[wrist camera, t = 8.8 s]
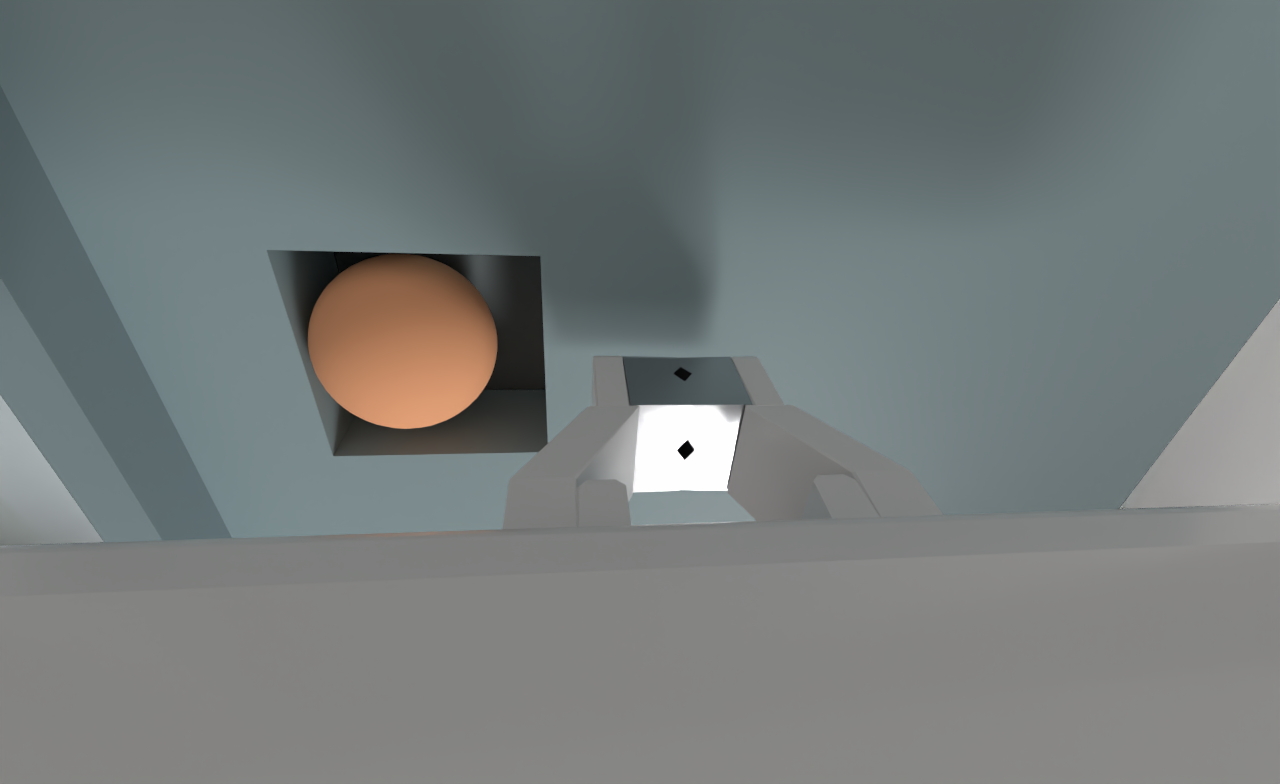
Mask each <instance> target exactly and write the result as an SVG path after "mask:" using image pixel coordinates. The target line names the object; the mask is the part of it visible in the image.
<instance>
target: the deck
mask: <svg viewBox="0 0 1280 784" xmlns="http://www.w3.org/2000/svg"><path fill="white" fill-rule="evenodd" d="M333 251H336V252H379V253H423V254H467V255H511V256H540V260H541V285H542V310H543V335H544V360H545V385H546V390H483V391H482V392H481V393H480V395H479V396H478V397H477V399H475V400H474V401H473V402H472V403H471V404H470V405H469V406H468V407H467V408H466V409H464V410H463V411H462V412H460V413H459V414H457V415H456V416H454V417H452V418H450V419H448V420H446V421H443V422H440V423H438V424H435V425H432V426H427V427H422V428H411V429H399V428H391V427H386V426H381V425H376V424H374V423H371V422H368V421H365V420H363V419H361V418H359V417H357V416H356V415H354V414H352V413H350V412H349V411H348V410H346V409H345V408H343V407H342V406H341V405H340V404H338V403H337V402H336V401H335V400H334V399H333V398H332V397H331V396H330V394H329V393H328V392H327V391H326V390H325V388H324V387H323V385H322V384H321V382H320V380H319V379H318V377H317V375H316V373H315V371H314V368H313V365H312V362H311V359H310V355H309V349H308V328H309V322H310V317H311V314H312V311H313V308H314V306H315V304H316V302H317V300H318V298H319V297H320V295H321V293H322V292H323V290H324V289H325V288H326V286H327V285H328V284H329V283H330V282H331V281H332V280H333V279H334V278H335V277H336V276H337V275H339V272H338V268H337V264H336V260H335V256H334V252H333ZM1279 299H1280V0H0V395H1V396H2V398H3V399H4V401H5V402H6V403H7V405H8V406H9V408H10V409H11V411H12V412H13V413H14V415H15V416H16V418H17V419H18V420H19V422H20V423H21V425H22V426H23V428H24V429H25V430H26V432H27V433H28V435H29V436H30V438H31V439H32V440H33V442H34V443H35V445H36V446H37V447H38V449H39V450H40V452H41V453H42V455H43V456H44V457H45V459H46V460H47V462H48V463H49V464H50V466H51V467H52V469H53V470H54V472H55V473H56V474H57V476H58V477H59V479H60V480H61V481H62V483H63V484H64V486H65V487H66V489H67V490H68V491H69V493H70V494H71V496H72V497H73V498H74V500H75V501H76V503H77V504H78V506H79V507H80V508H81V510H82V511H83V513H84V514H85V516H86V517H87V518H88V520H89V521H90V523H91V524H92V525H93V527H94V528H95V530H96V531H97V533H98V534H99V535H100V537H101V538H102V540H103V541H104V542H131V541H161V540H191V539H221V538H252V537H282V536H313V535H343V534H374V533H404V532H435V531H466V530H496V529H502V528H503V521H504V514H505V507H506V500H507V492H508V485H509V479H510V478H512V477H513V476H514V475H515V474H516V473H517V472H518V471H519V470H520V469H521V468H522V467H523V466H524V465H526V464H527V463H528V462H529V461H530V460H531V459H532V458H533V457H534V456H535V455H536V454H537V453H538V452H539V451H541V450H542V449H543V448H544V447H545V446H546V445H547V444H548V443H549V442H550V441H551V440H552V439H553V438H555V437H556V436H557V435H558V434H559V433H560V432H561V431H562V430H563V429H564V428H565V427H566V426H567V425H568V424H570V423H571V422H572V421H573V420H574V419H575V418H576V417H577V416H578V415H579V414H580V413H581V412H582V411H584V410H585V409H586V408H587V407H588V406H591V399H592V362H593V356H618V355H620V356H621V357H622V356H643V357H676V358H688V357H741V356H755V357H757V358H758V359H759V360H760V362H761V364H762V366H763V367H764V369H765V371H766V373H767V374H768V376H769V378H770V380H771V382H772V383H773V385H774V387H775V389H776V390H777V392H778V394H779V396H780V398H781V399H782V401H783V403H784V405H794V406H795V407H797V408H799V409H801V410H803V411H804V412H806V413H808V414H810V415H811V416H813V417H815V418H817V419H819V420H820V421H822V422H824V423H826V424H828V425H829V426H831V427H833V428H835V429H836V430H838V431H840V432H842V433H844V434H845V435H847V436H849V437H851V438H852V439H854V440H856V441H858V442H860V443H861V444H863V445H865V446H867V447H868V448H870V449H872V450H874V451H876V452H877V453H879V454H881V455H883V456H884V457H886V458H888V459H890V460H892V461H893V462H895V463H897V464H899V465H901V466H902V467H904V468H906V469H908V470H909V471H911V472H912V473H913V475H914V476H915V477H916V479H917V480H918V481H919V483H920V484H921V485H922V487H923V488H924V489H925V491H926V492H927V493H928V495H929V496H930V497H931V499H932V500H933V502H934V503H935V504H936V506H937V507H938V508H939V510H940V511H941V512H942V514H943V515H953V514H984V513H1014V512H1044V511H1075V510H1106V509H1119V508H1120V506H1121V505H1122V504H1123V503H1124V501H1125V500H1126V499H1127V497H1128V496H1129V495H1130V493H1131V492H1132V491H1133V489H1134V488H1135V487H1136V486H1137V484H1138V483H1139V482H1140V480H1141V479H1142V478H1143V476H1144V475H1145V474H1146V472H1147V471H1148V470H1149V469H1150V467H1151V466H1152V465H1153V463H1154V462H1155V461H1156V459H1157V458H1158V457H1159V455H1160V454H1161V453H1162V452H1163V450H1164V449H1165V448H1166V446H1167V445H1168V444H1169V442H1170V441H1171V440H1172V438H1173V437H1174V436H1175V435H1176V433H1177V432H1178V431H1179V429H1180V428H1181V427H1182V425H1183V424H1184V423H1185V421H1186V420H1187V419H1188V418H1189V416H1190V415H1191V414H1192V412H1193V411H1194V410H1195V408H1196V407H1197V406H1198V404H1199V403H1200V402H1201V401H1202V399H1203V398H1204V397H1205V395H1206V394H1207V393H1208V391H1209V390H1210V389H1211V387H1212V386H1213V385H1214V384H1215V382H1216V381H1217V380H1218V378H1219V377H1220V376H1221V374H1222V373H1223V372H1224V370H1225V369H1226V368H1227V367H1228V365H1229V364H1230V363H1231V361H1232V360H1233V359H1234V357H1235V356H1236V355H1237V353H1238V352H1239V351H1240V350H1241V348H1242V347H1243V346H1244V344H1245V343H1246V342H1247V340H1248V339H1249V338H1250V336H1251V335H1252V334H1253V333H1254V331H1255V330H1256V329H1257V327H1258V326H1259V325H1260V323H1261V322H1262V321H1263V319H1264V318H1265V317H1266V316H1267V314H1268V313H1269V312H1270V310H1271V309H1272V308H1273V306H1274V305H1275V304H1276V302H1277V301H1278V300H1279ZM628 504H629V511H630V519H631V525H649V524H680V523H710V522H741V521H756V520H755V519H754V518H753V517H752V516H751V515H750V514H749V513H748V512H747V511H746V510H745V509H744V508H743V507H742V506H741V505H740V504H739V503H738V502H737V501H735V500H734V499H733V498H732V497H731V496H730V495H729V494H728V493H727V490H673V491H654V492H635V493H633V495H632V497H631V499H630V500H629V502H628Z"/></svg>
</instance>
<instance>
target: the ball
mask: <svg viewBox="0 0 1280 784" xmlns="http://www.w3.org/2000/svg"><path fill="white" fill-rule="evenodd" d="M308 349H309V355H310V359H311V362H312V365H313V368H314V371H315V373H316V375H317V377H318V379H319V380H320V382H321V384H322V385H323V387H324V388H325V390H326V391H327V392H328V393H329V394H330V396H331V397H332V398H333V399H334V400H335V401H336V402H337V403H338V404H340V405H341V406H342V407H343V408H345V409H346V410H348V411H349V412H350V413H352V414H354V415H356V416H357V417H359V418H361V419H363V420H365V421H368V422H371V423H374V424H376V425H381V426H386V427H391V428H399V429H411V428H422V427H427V426H432V425H435V424H438V423H440V422H443V421H446V420H448V419H450V418H452V417H454V416H456V415H457V414H459V413H460V412H462V411H463V410H464V409H466V408H467V407H468V406H469V405H470V404H471V403H472V402H473V401H474V400H475V399H477V397H478V396H479V395H480V393H481V392H482V391H483V389H484V388H485V386H486V385H487V383H488V381H489V379H490V377H491V375H492V372H493V369H494V366H495V361H496V356H497V332H496V327H495V323H494V319H493V316H492V314H491V312H490V309H489V307H488V305H487V303H486V302H485V300H484V299H483V297H482V295H481V294H480V292H479V291H478V290H477V289H476V288H475V287H474V286H473V284H472V283H471V282H470V281H468V280H467V279H466V278H465V277H464V276H463V275H461V274H460V273H458V272H457V271H455V270H454V269H452V268H451V267H449V266H447V265H445V264H443V263H441V262H439V261H436V260H433V259H430V258H427V257H424V256H418V255H413V254H386V255H380V256H376V257H372V258H368V259H365V260H363V261H361V262H358V263H356V264H354V265H352V266H350V267H349V268H347V269H346V270H344V271H343V272H341V273H340V274H339V275H337V276H336V277H335V278H334V279H333V280H332V281H331V282H330V283H329V284H328V285H327V286H326V288H325V289H324V290H323V292H322V293H321V295H320V297H319V298H318V300H317V302H316V304H315V306H314V308H313V311H312V314H311V317H310V322H309V328H308Z"/></svg>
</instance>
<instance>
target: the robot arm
mask: <svg viewBox="0 0 1280 784" xmlns="http://www.w3.org/2000/svg"><path fill="white" fill-rule="evenodd" d="M673 490H727V493H728V494H729V495H730V496H731V497H732V498H733V499H734V500H735V501H737V502H738V503H739V504H740V505H741V506H742V507H743V508H744V509H745V510H746V511H747V512H748V513H749V514H750V515H751V516H752V517H753V518H754V519H755V520H756V521H741V522H710V523H680V524H649V525H631V519H630V511H629V504H628V502H629V500H630V499H631V497H632V495H633V493H635V492H654V491H673ZM0 784H1280V504H1262V505H1231V506H1201V507H1170V508H1138V509H1106V510H1075V511H1044V512H1014V513H984V514H953V515H943V514H942V512H941V511H940V510H939V508H938V507H937V506H936V504H935V503H934V502H933V500H932V499H931V497H930V496H929V495H928V493H927V492H926V491H925V489H924V488H923V487H922V485H921V484H920V483H919V481H918V480H917V479H916V477H915V476H914V475H913V473H912V472H911V471H909V470H908V469H906V468H904V467H902V466H901V465H899V464H897V463H895V462H893V461H892V460H890V459H888V458H886V457H884V456H883V455H881V454H879V453H877V452H876V451H874V450H872V449H870V448H868V447H867V446H865V445H863V444H861V443H860V442H858V441H856V440H854V439H852V438H851V437H849V436H847V435H845V434H844V433H842V432H840V431H838V430H836V429H835V428H833V427H831V426H829V425H828V424H826V423H824V422H822V421H820V420H819V419H817V418H815V417H813V416H811V415H810V414H808V413H806V412H804V411H803V410H801V409H799V408H797V407H795V406H794V405H784V403H783V401H782V399H781V398H780V396H779V394H778V392H777V390H776V389H775V387H774V385H773V383H772V382H771V380H770V378H769V376H768V374H767V373H766V371H765V369H764V367H763V366H762V364H761V362H760V360H759V359H758V358H757V357H755V356H741V357H688V358H676V357H643V356H622V357H621V356H620V355H618V356H593V362H592V399H591V406H588V407H587V408H586V409H585V410H584V411H582V412H581V413H580V414H579V415H578V416H577V417H576V418H575V419H574V420H573V421H572V422H571V423H570V424H568V425H567V426H566V427H565V428H564V429H563V430H562V431H561V432H560V433H559V434H558V435H557V436H556V437H555V438H553V439H552V440H551V441H550V442H549V443H548V444H547V445H546V446H545V447H544V448H543V449H542V450H541V451H539V452H538V453H537V454H536V455H535V456H534V457H533V458H532V459H531V460H530V461H529V462H528V463H527V464H526V465H524V466H523V467H522V468H521V469H520V470H519V471H518V472H517V473H516V474H515V475H514V476H513V477H512V478H510V479H509V485H508V492H507V500H506V507H505V514H504V521H503V528H502V529H496V530H466V531H435V532H404V533H374V534H343V535H313V536H282V537H252V538H221V539H191V540H161V541H131V542H100V543H70V544H40V545H10V546H0Z"/></svg>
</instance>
